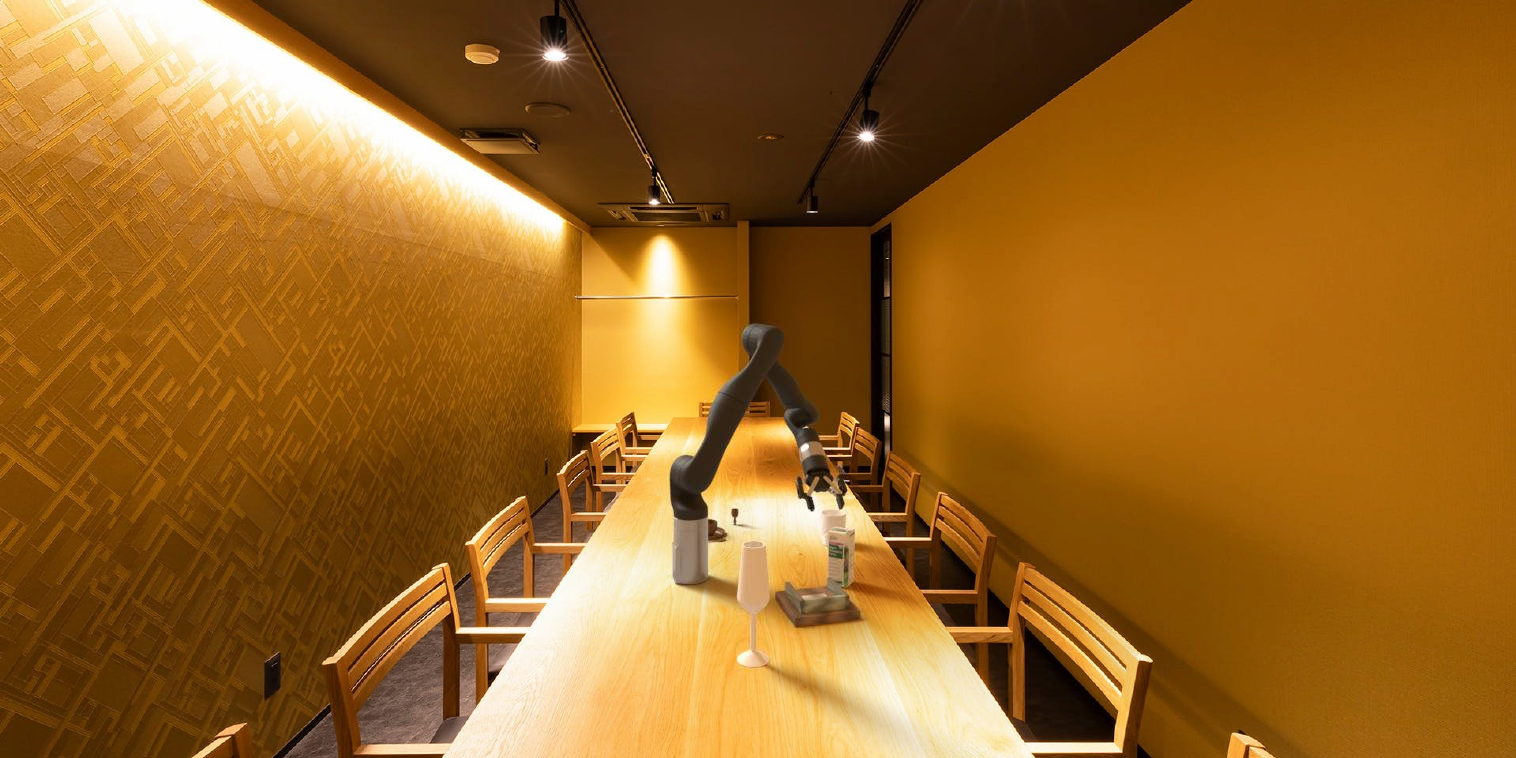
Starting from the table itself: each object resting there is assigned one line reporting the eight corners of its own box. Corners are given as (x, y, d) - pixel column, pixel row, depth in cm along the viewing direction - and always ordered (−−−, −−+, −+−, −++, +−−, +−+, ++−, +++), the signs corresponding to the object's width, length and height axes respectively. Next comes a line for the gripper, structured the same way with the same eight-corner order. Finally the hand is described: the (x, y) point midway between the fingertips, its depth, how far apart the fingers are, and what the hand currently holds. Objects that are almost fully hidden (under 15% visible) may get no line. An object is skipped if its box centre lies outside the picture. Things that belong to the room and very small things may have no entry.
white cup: (845, 540, 215) (845, 509, 215) (846, 548, 208) (846, 516, 207) (820, 539, 216) (820, 508, 215) (820, 547, 208) (820, 515, 208)
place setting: (681, 530, 226) (681, 513, 226) (736, 524, 234) (736, 507, 234) (697, 546, 210) (697, 527, 210) (756, 538, 218) (756, 520, 218)
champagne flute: (768, 650, 142) (769, 539, 140) (770, 667, 135) (771, 549, 133) (736, 651, 141) (737, 539, 140) (736, 667, 135) (737, 549, 133)
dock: (795, 626, 153) (795, 605, 153) (775, 599, 168) (775, 579, 168) (860, 619, 157) (860, 598, 157) (835, 592, 173) (835, 573, 172)
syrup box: (826, 584, 178) (827, 531, 177) (834, 577, 183) (835, 525, 182) (846, 588, 176) (847, 534, 174) (854, 581, 181) (855, 528, 180)
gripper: (793, 454, 194) (806, 504, 184) (839, 452, 197) (855, 500, 187) (787, 469, 199) (800, 517, 189) (832, 466, 203) (847, 514, 193)
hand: (827, 509), depth 188 cm, fingers open, 8 cm apart
